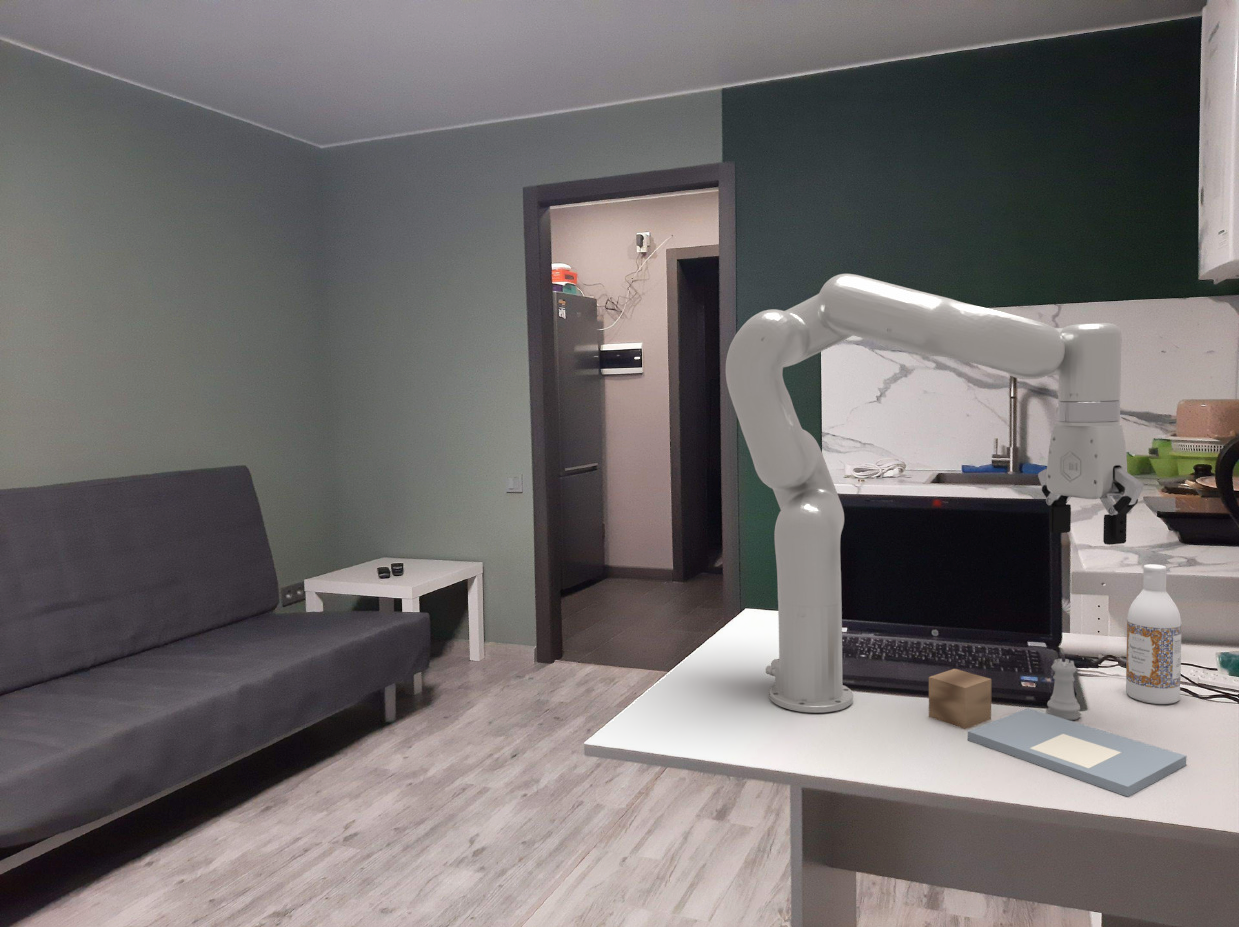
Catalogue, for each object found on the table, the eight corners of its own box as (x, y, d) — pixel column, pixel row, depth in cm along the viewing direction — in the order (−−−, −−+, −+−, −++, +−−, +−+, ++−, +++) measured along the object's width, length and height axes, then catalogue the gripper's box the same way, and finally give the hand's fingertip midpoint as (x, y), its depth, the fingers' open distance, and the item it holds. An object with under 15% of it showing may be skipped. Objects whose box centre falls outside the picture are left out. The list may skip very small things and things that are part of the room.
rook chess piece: (1085, 722, 124) (1086, 666, 124) (1051, 720, 125) (1051, 665, 125) (1075, 710, 129) (1076, 656, 128) (1042, 709, 130) (1043, 656, 129)
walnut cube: (928, 717, 128) (928, 676, 128) (954, 707, 132) (954, 668, 131) (965, 729, 123) (965, 687, 123) (991, 719, 127) (991, 678, 126)
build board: (967, 739, 120) (967, 730, 120) (1027, 715, 127) (1027, 707, 127) (1127, 796, 102) (1127, 786, 102) (1186, 764, 110) (1186, 755, 110)
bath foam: (1115, 694, 135) (1117, 564, 133) (1146, 686, 138) (1149, 559, 136) (1158, 708, 129) (1161, 572, 127) (1190, 700, 131) (1193, 567, 130)
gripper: (1020, 414, 129) (1019, 530, 130) (1117, 417, 112) (1115, 550, 114) (1063, 412, 131) (1061, 527, 132) (1164, 415, 114) (1161, 546, 116)
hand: (1086, 537), depth 123 cm, fingers open, 9 cm apart
